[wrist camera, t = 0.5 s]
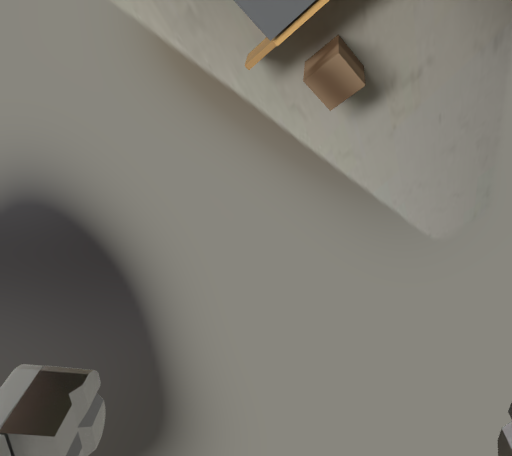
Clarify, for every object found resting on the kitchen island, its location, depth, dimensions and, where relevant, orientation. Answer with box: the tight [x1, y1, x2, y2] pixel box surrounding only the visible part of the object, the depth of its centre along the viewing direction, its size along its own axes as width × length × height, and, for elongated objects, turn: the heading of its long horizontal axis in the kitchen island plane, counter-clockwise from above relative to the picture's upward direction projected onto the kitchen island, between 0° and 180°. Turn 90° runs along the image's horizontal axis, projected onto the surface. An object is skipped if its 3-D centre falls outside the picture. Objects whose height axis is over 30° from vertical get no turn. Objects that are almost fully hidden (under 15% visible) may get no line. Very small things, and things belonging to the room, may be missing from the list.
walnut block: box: [303, 35, 366, 111], centre depth 54 cm, size 5×5×5 cm
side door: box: [245, 0, 329, 70], centre depth 49 cm, size 17×1×5 cm, turn 134°
